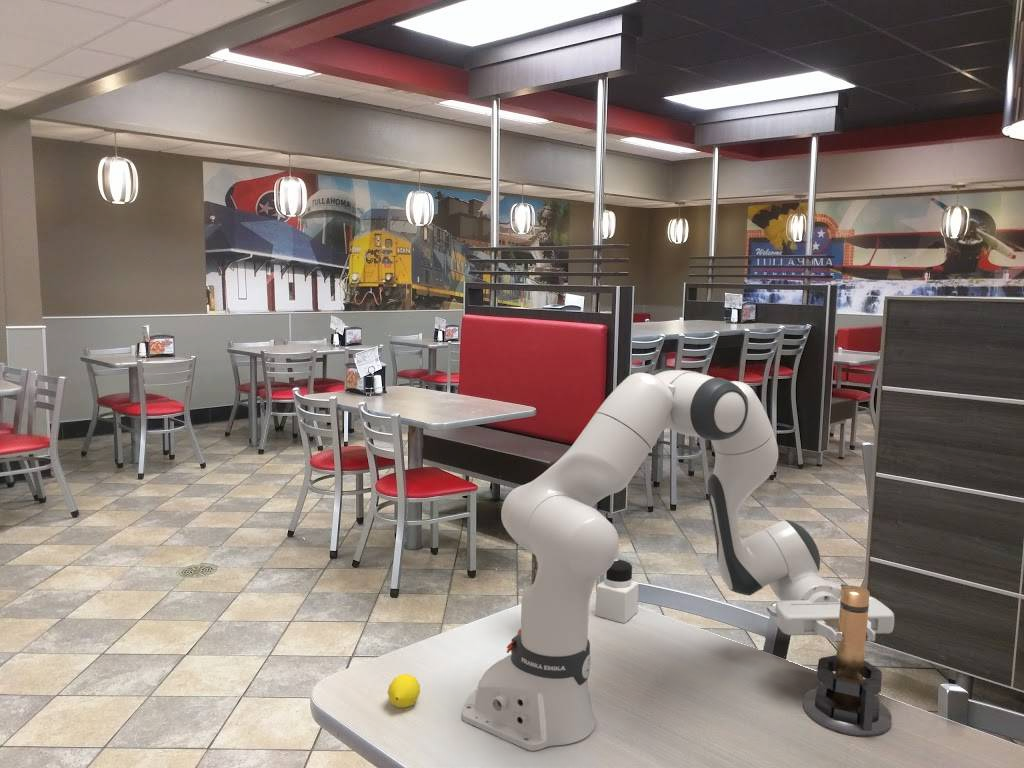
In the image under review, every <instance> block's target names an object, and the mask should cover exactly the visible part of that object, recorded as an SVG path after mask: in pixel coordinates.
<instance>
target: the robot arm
mask: <svg viewBox="0 0 1024 768" xmlns="http://www.w3.org/2000/svg"><path fill="white" fill-rule="evenodd" d="M666 429H669V430H672V431H674V432H676V433H677V434H680V435H684V436H689V437H694V438H702V439H704V440H708V441H710V442H711V445H712V447H713V450H714V454H715V460H714V462H715V463H714V468H713V472H712V474H711V475H710V476H709V478H708V479H707V494H708V496H707V497H708V503H709V511H710V514H711V515H710V516H711V520H712V526H713V532H714V538H715V543H716V559H717V566H718V571H719V575H720V577H721V579H722V581H723V582H724V585H726V587H727V588H728V589H729V590H730V591H731V592H734V593H736V594H739V595H744V596H749V597H751V595H754V594H755V593H757V592H759V591H760V590H761V589H764V587H766V586H769V587H770V589H771V591H772V592H773V594H774V595H775V596H776V597H777V599H778V601H777V602H774V603H773V602H772V603H771V605H767V607H766V611H767V612H768V614H770V615H771V616H773V617H774V621H775V624H776V625H777V627H778V628H779V629H780V631H781V632H782V633H783V634H785V635H788V636H820V637H823V638H827V639H829V640H830V641H831V642H832V643H837V642H842V632H841V631H839V629H838V627H839V613H840V599H841V588H842V587H843V586H849V585H847V584H840V583H837V582H834V581H831V580H826V579H825V578H823V577H821V576H820V575H819V573H818V572H820V567H821V555H820V551H819V549H818V546H817V544H816V542H815V540H814V538H813V537H812V536H811V535H810V533H809V532H808V531H807V530H806V529H805V528H804V527H803V526H801V525H800V524H798V523H796V522H794V521H791V520H789V519H782V520H781V521H778V522H776V523H773V524H772V525H769V526H767V527H765V528H763V529H762V530H760V531H758V532H755V533H753V534H751V535H750V536H749V535H748V536H746V537H745V538H743V539H742V538H741V534H740V533H741V532H740V527H739V521H738V512H739V509H740V508H741V506H742V504H743V503H744V502H745V501H746V500H747V498H748V497H749V496H751V494H752V493H753V492H754V491H755V490H756V489H757V488H758V487H760V486H761V485H762V484H763V483H765V481H766V480H767V479H769V477H770V476H771V475H772V473H773V471H774V470H775V468H776V465H777V463H778V461H779V447H778V443H777V440H776V436H775V432H774V430H773V426H772V425H771V422H770V419H769V417H768V414H767V411H766V410H765V407H764V406H763V404H762V402H761V401H760V399H759V397H758V396H757V394H756V393H755V390H753V388H752V387H751V386H750V385H749V384H747V383H745V382H743V381H736V380H733V381H732V380H727V379H725V378H723V377H714V376H710V375H709V374H704V373H701V372H698V371H694V370H693V371H692V370H683V369H678V370H677V369H673V368H662V369H656V370H653V371H650V372H649V373H646V372H635V373H632V374H629V375H628V376H626V378H624V379H623V380H622V381H621V382H620V383H619V384H618V385H617V387H615V388H614V389H613V390H612V392H611V393H609V395H608V396H607V398H605V400H604V401H603V402H602V404H601V405H600V406H599V408H598V409H597V410H596V412H595V413H594V415H593V416H592V417H591V419H590V420H589V421H588V423H587V424H586V425H585V427H584V429H583V430H582V432H581V433H580V434H579V435H578V437H577V438H576V439H575V441H574V443H573V444H572V445H571V447H569V449H568V450H567V451H566V452H565V453H564V454H563V455H562V456H561V457H560V458H559V459H558V460H557V461H556V462H554V464H552V465H551V466H550V467H548V469H546V470H545V471H543V473H542V474H540V475H539V476H537V477H536V478H535V479H533V480H532V481H530V482H527V483H525V484H522V485H519V486H517V487H516V488H514V489H513V490H511V491H510V492H509V493H508V495H507V496H506V497H505V499H504V501H503V503H502V507H501V512H500V515H501V516H500V518H501V523H502V525H503V527H504V528H505V530H506V532H507V533H508V535H509V536H510V537H511V538H512V540H513V541H514V542H515V543H516V544H518V546H520V547H522V548H524V549H525V550H527V551H528V552H529V553H531V554H532V553H533V554H534V555H535V556H536V558H537V562H538V569H537V574H536V578H535V581H534V584H532V583H531V584H532V585H529V586H528V587H526V589H525V590H524V592H523V594H522V596H521V616H520V617H521V618H520V619H521V620H520V622H521V623H520V624H521V625H520V629H519V630H518V631H517V635H515V636H513V638H511V640H510V641H511V642H510V643H508V645H506V654H508V655H506V657H503V658H501V659H500V660H498V661H496V662H495V663H494V664H493V665H491V666H490V667H489V668H488V669H487V670H486V671H485V672H484V674H483V675H482V676H481V678H480V679H479V682H478V684H477V689H476V690H474V691H473V693H472V694H471V695H469V697H468V698H467V699H466V700H465V702H464V703H463V706H462V711H461V718H462V719H461V720H463V721H464V722H465V723H468V724H470V725H472V726H474V727H477V728H479V729H480V730H483V731H484V732H485V731H486V732H488V733H489V734H493V735H494V736H495V737H499V738H501V739H503V740H506V741H507V742H509V743H512V744H514V745H516V746H518V747H520V748H523V749H525V750H528V751H532V752H533V751H539V750H542V749H545V748H548V747H552V746H564V745H570V744H573V743H576V742H577V743H578V742H579V741H582V740H583V739H585V738H587V737H588V736H589V735H591V734H592V733H593V731H594V730H595V726H596V718H595V715H594V712H593V707H592V702H591V701H592V700H591V696H590V687H589V677H590V671H591V662H592V661H591V657H592V656H591V644H590V643H591V642H590V640H589V637H588V636H589V635H588V634H589V615H590V613H589V612H590V602H591V596H592V592H593V590H594V586H595V584H596V582H597V579H599V577H600V576H602V575H604V573H605V572H606V571H607V570H608V569H609V568H610V567H611V566H612V564H613V563H614V561H615V560H617V556H618V553H619V548H620V538H619V535H618V532H617V530H616V528H615V526H614V525H613V524H612V523H611V522H610V521H609V520H608V519H607V517H605V516H604V515H603V514H602V513H601V512H600V511H598V510H597V509H596V508H594V505H596V504H597V503H598V502H600V501H601V500H603V499H605V498H606V497H608V496H610V495H614V494H617V493H619V492H621V491H623V490H624V489H625V488H627V486H628V485H629V483H630V482H631V480H632V479H633V477H634V476H635V474H636V473H637V471H638V470H639V468H640V467H641V465H642V464H643V462H644V461H645V459H646V458H647V457H648V454H649V453H650V452H651V450H652V449H653V447H654V446H655V444H656V443H657V441H658V439H659V437H660V436H661V434H662V432H664V431H665V430H666ZM894 627H895V613H894V612H893V611H892V610H891V609H890V608H889V607H888V606H887V605H885V604H884V603H883V602H881V601H879V600H878V599H877V598H875V597H873V596H871V595H869V609H868V621H867V634H866V642H875V641H876V634H877V635H878V634H891V633H893V631H894ZM509 653H511V654H509Z"/></svg>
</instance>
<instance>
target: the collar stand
mask: <svg viewBox="0 0 1024 768" xmlns="http://www.w3.org/2000/svg"><path fill="white" fill-rule="evenodd" d="M836 655H837V654H835V655H830V656H823V657H820V658H819V659H818V664H817V667H816V668H817V669H816V679H817V681H818V682H820V683H821V684H820V683H819V684H818V685H817V686H816V688H814V689H811V690H809V691H807V692H806V693H805V695H804V696H803V701H802V703H803V704H802V708H803V710H804V712H805V714H806V715H807V716H808V718H809V719H811V720H812V721H813V722H815V723H816V724H818V725H820V726H821V727H822V728H823V727H824V728H825V729H827V730H830V731H833V732H835V733H838V734H842V735H847V736H852V737H857V738H858V737H859V738H865V737H866V738H868V737H872V738H873V737H876V736H877V737H879V736H881V735H883V734H886V733H887V732H888V731H889V730H890V728H892V713H891V712H890V709H888V707H886V706H885V705H884V704H883V703H882V702H880V700H881V699H880V698H879V697H878V696H877V695H878V694H880V693H881V692H882V679H883V678H882V677H883V676H882V674H883V672H882V671H881V669H879V668H878V667H876V666H875V665H873V664H871V663H870V662H868V661H867V660H864V673H863V680H858V681H857V680H853V679H848V678H843V677H839V676H838V675H836V674H835V669H836ZM834 690H835V692H839V693H844V694H848V695H853V696H857V697H859V695H860V696H861V706H860V707H858V708H850V707H846V706H842V705H838V704H837V703H836V702H835V701H834V699H833V697H834Z"/></svg>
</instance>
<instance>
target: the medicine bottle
mask: <svg viewBox="0 0 1024 768" xmlns="http://www.w3.org/2000/svg"><path fill="white" fill-rule="evenodd" d="M603 575H604V577H603V580H602V582H600V583H598V584H597V585H596V592H595V593H596V596H595V597H596V598H595V616H597V617H599V618H603V619H605V620H606V619H607V620H610V621H615V622H617V623H622V624H626V623H627V622H628V621H629V620H630V619H631V618H633V617H634V616H635V615H636V614H637V613H638V611H639V609H638V608H639V606H638V605H639V582H638V581H635V580H634V581H633V580H632V579H633V576H632V575H633V565H632V564H631V563H630V562H629V561H626V560H622V559H615V561H614V563H613V564H612V566H611V567H610V568H609V569H608V570H607V571H606V572H605V573H604V574H603Z"/></svg>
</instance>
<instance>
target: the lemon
mask: <svg viewBox="0 0 1024 768" xmlns="http://www.w3.org/2000/svg"><path fill="white" fill-rule="evenodd" d="M388 685H389V686H388V689H387V694H388V699H389V701H390V702H391V704H392V705H393V706H395V707H398V708H402V709H404V708H408V707H411V706H412V705H414V704H415V703H416V702H417V701H418V698H419V696H420V693H421V687H420V686H421V685H420V683H419V681H418V679H417V678H416V676H413V675H411V674H409V673H401V674H399V675H398V676H396V677H395V678H393V680H392V681H391V682H390V684H388Z"/></svg>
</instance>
